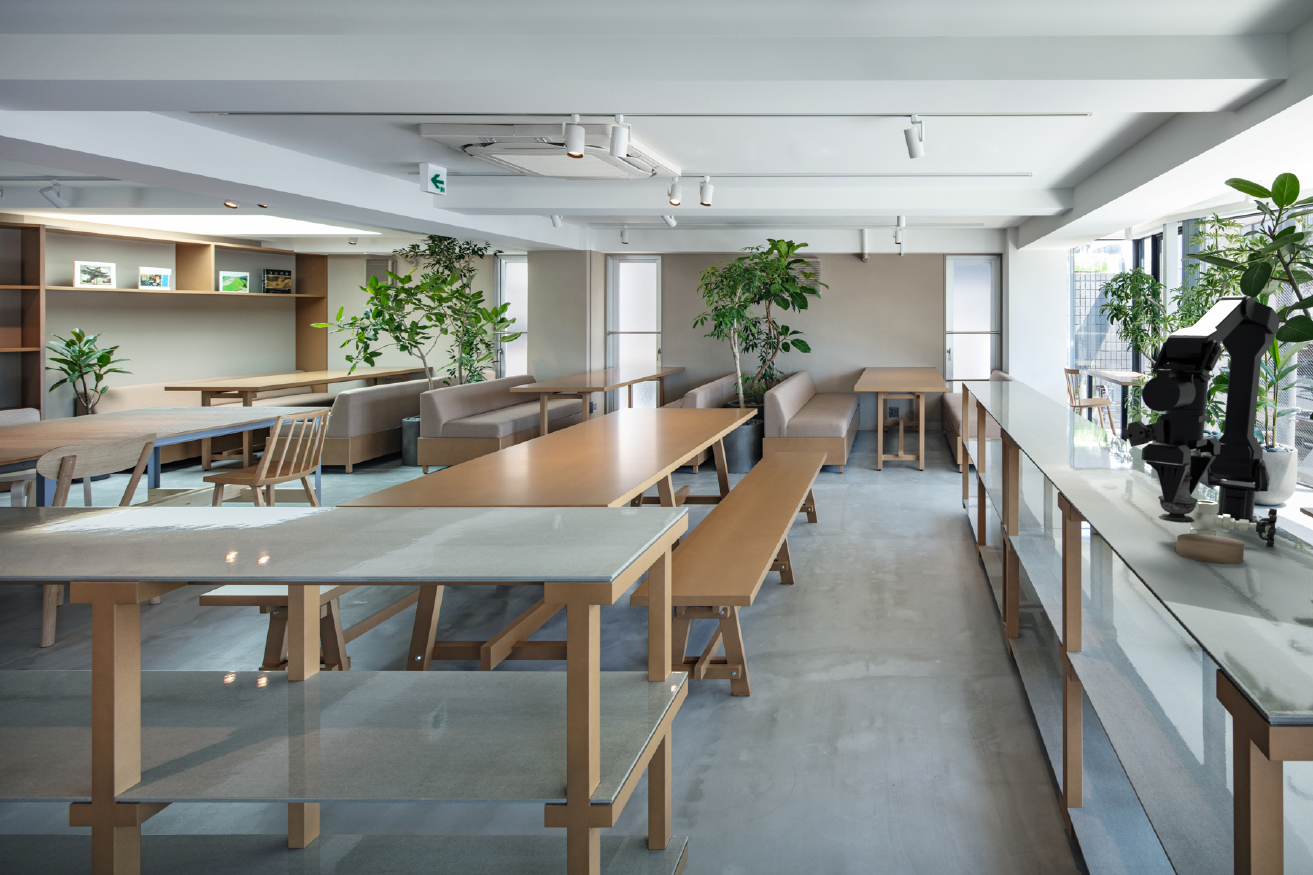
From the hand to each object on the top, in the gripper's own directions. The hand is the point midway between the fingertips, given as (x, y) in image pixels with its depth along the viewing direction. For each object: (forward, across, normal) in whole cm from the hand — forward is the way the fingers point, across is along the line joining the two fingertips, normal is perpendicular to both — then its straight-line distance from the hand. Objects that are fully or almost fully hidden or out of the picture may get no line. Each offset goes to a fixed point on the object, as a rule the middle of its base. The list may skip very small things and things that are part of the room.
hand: (1177, 498), depth 143 cm
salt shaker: (+4, 0, 0) cm, 4 cm away
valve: (+8, -6, +6) cm, 12 cm away
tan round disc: (+7, +7, +7) cm, 12 cm away
